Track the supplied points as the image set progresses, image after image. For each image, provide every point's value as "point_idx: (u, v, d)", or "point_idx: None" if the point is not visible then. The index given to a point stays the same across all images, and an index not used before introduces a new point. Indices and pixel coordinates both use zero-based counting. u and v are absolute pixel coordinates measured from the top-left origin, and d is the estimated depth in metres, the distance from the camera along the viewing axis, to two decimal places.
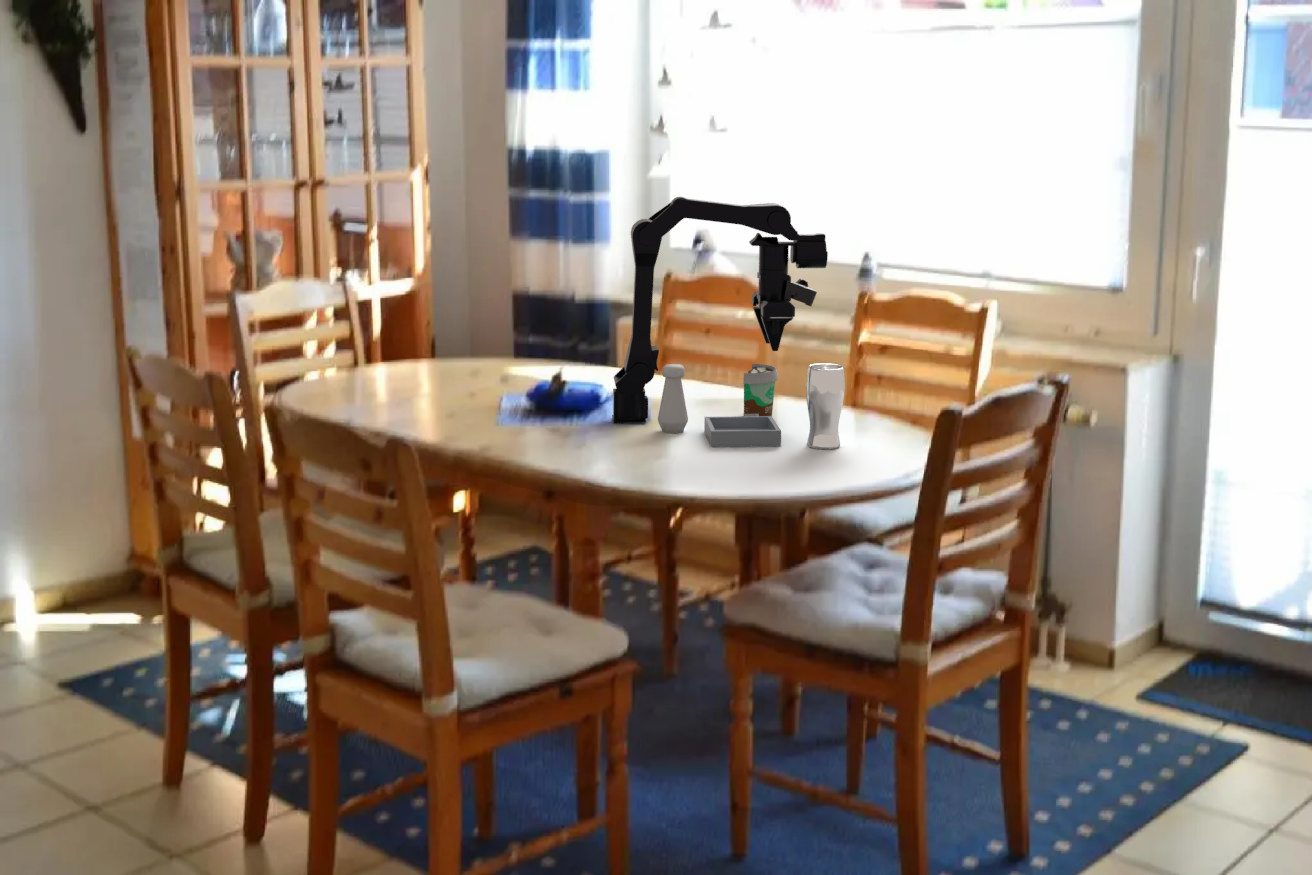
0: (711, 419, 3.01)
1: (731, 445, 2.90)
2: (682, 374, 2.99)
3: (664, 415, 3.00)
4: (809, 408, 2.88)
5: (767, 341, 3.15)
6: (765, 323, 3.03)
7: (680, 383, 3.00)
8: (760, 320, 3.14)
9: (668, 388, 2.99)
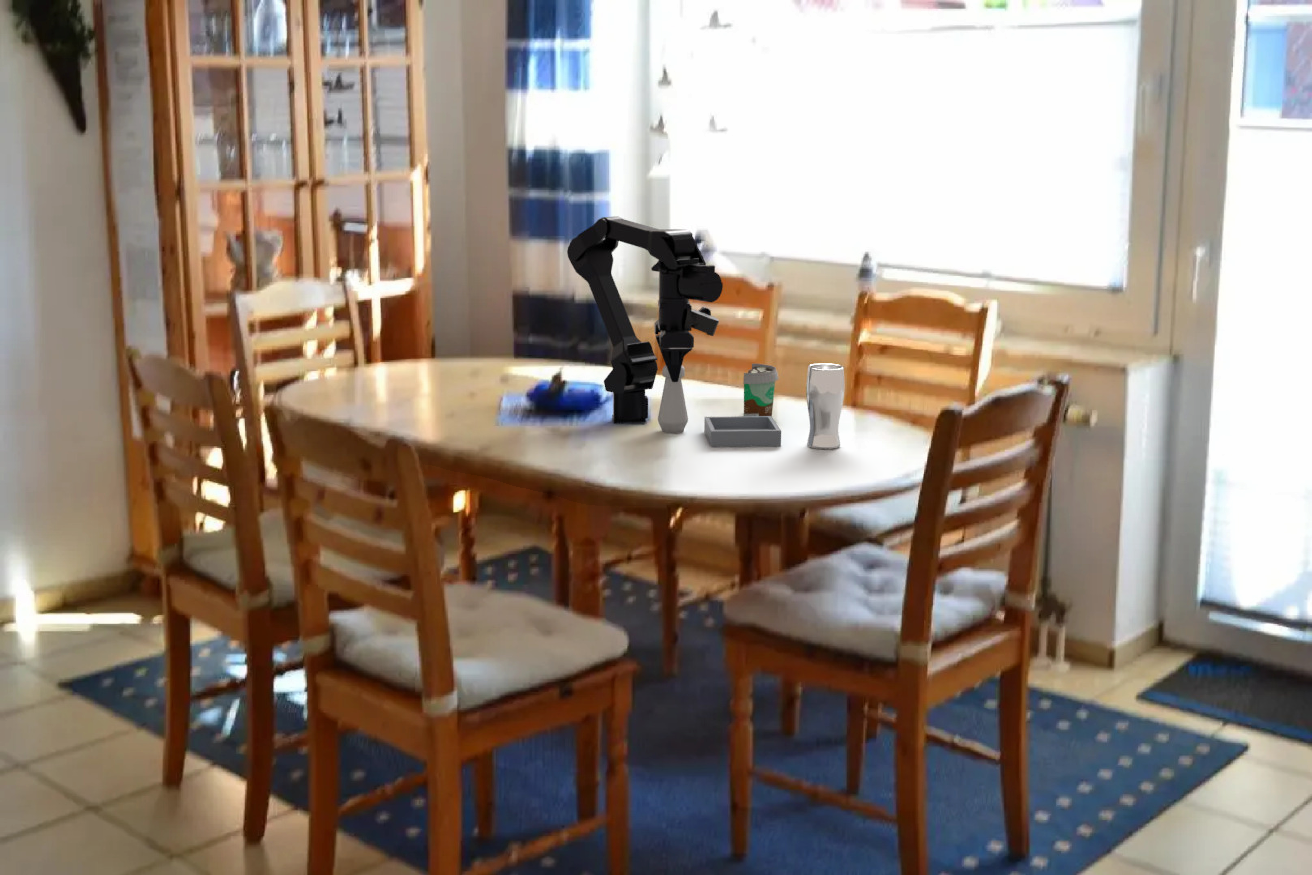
0: (711, 419, 3.01)
1: (731, 445, 2.90)
2: (682, 374, 2.99)
3: (664, 415, 3.00)
4: (809, 408, 2.88)
5: None
6: (664, 354, 2.93)
7: (680, 383, 3.00)
8: None
9: (668, 388, 2.99)
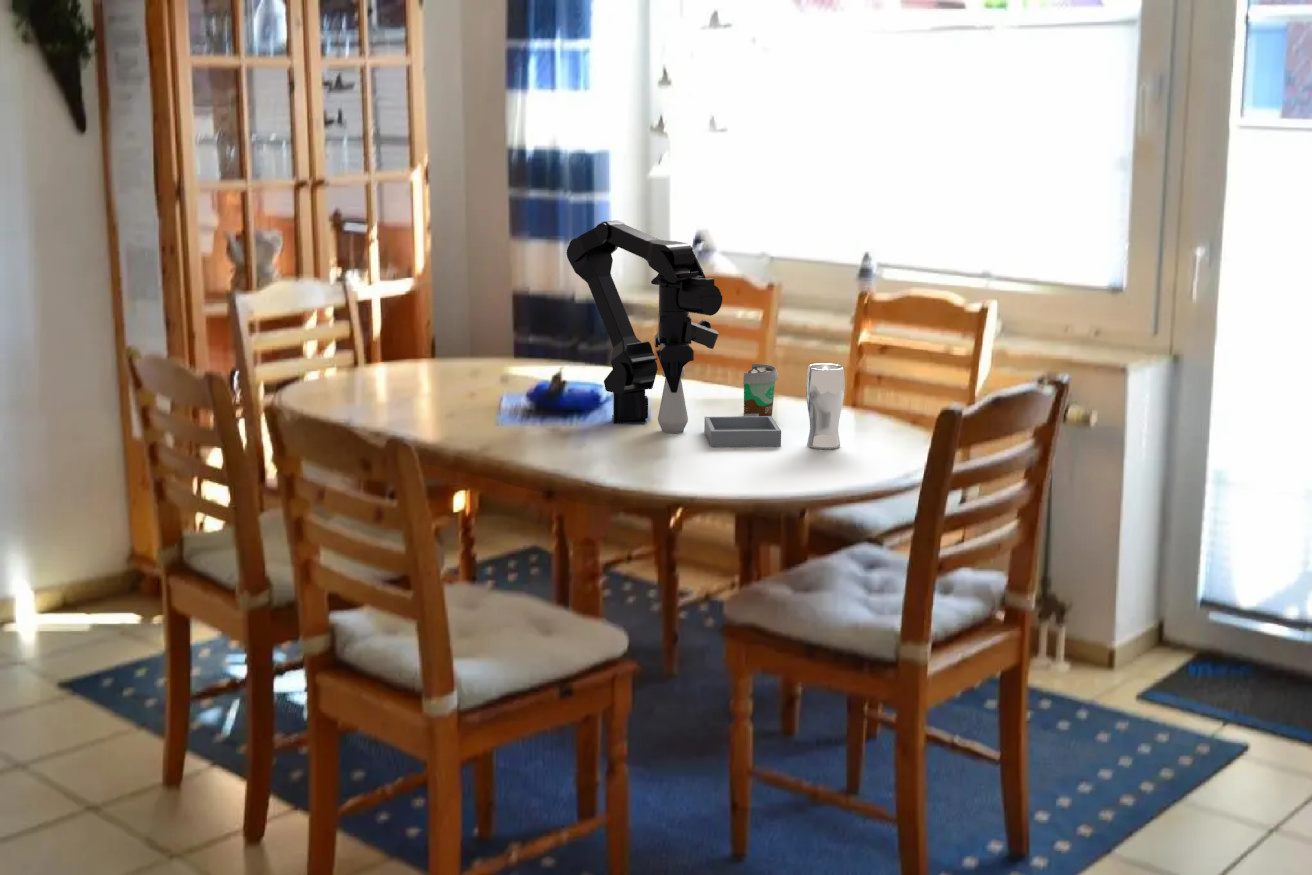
0: (711, 419, 3.01)
1: (731, 445, 2.90)
2: (682, 374, 2.99)
3: (664, 415, 3.00)
4: (809, 408, 2.88)
5: None
6: (663, 364, 2.96)
7: (680, 383, 3.00)
8: None
9: (668, 388, 2.99)
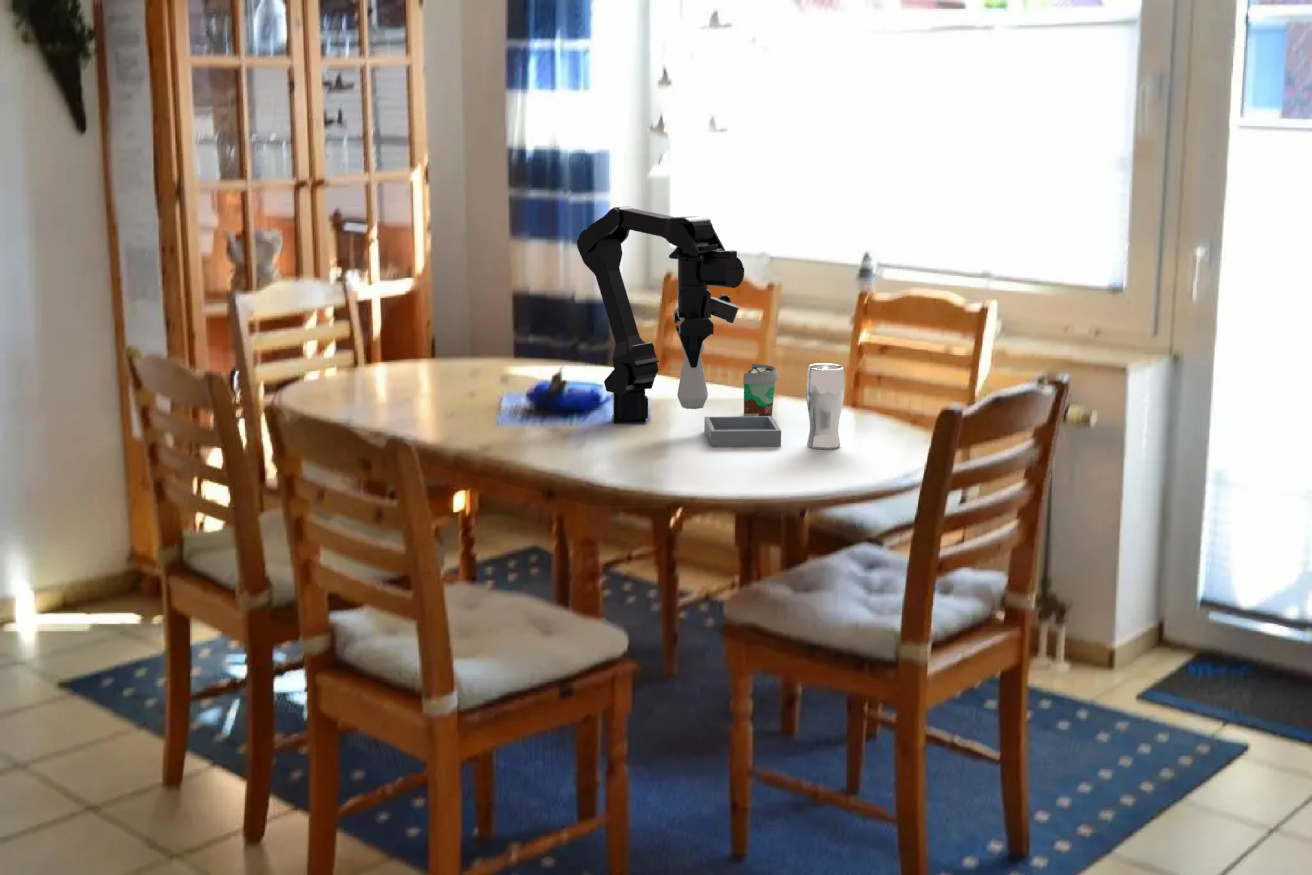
0: (711, 419, 3.01)
1: (731, 445, 2.90)
2: (702, 349, 2.96)
3: (684, 390, 2.97)
4: (809, 408, 2.88)
5: None
6: (682, 339, 2.93)
7: (700, 358, 2.97)
8: None
9: (687, 363, 2.96)
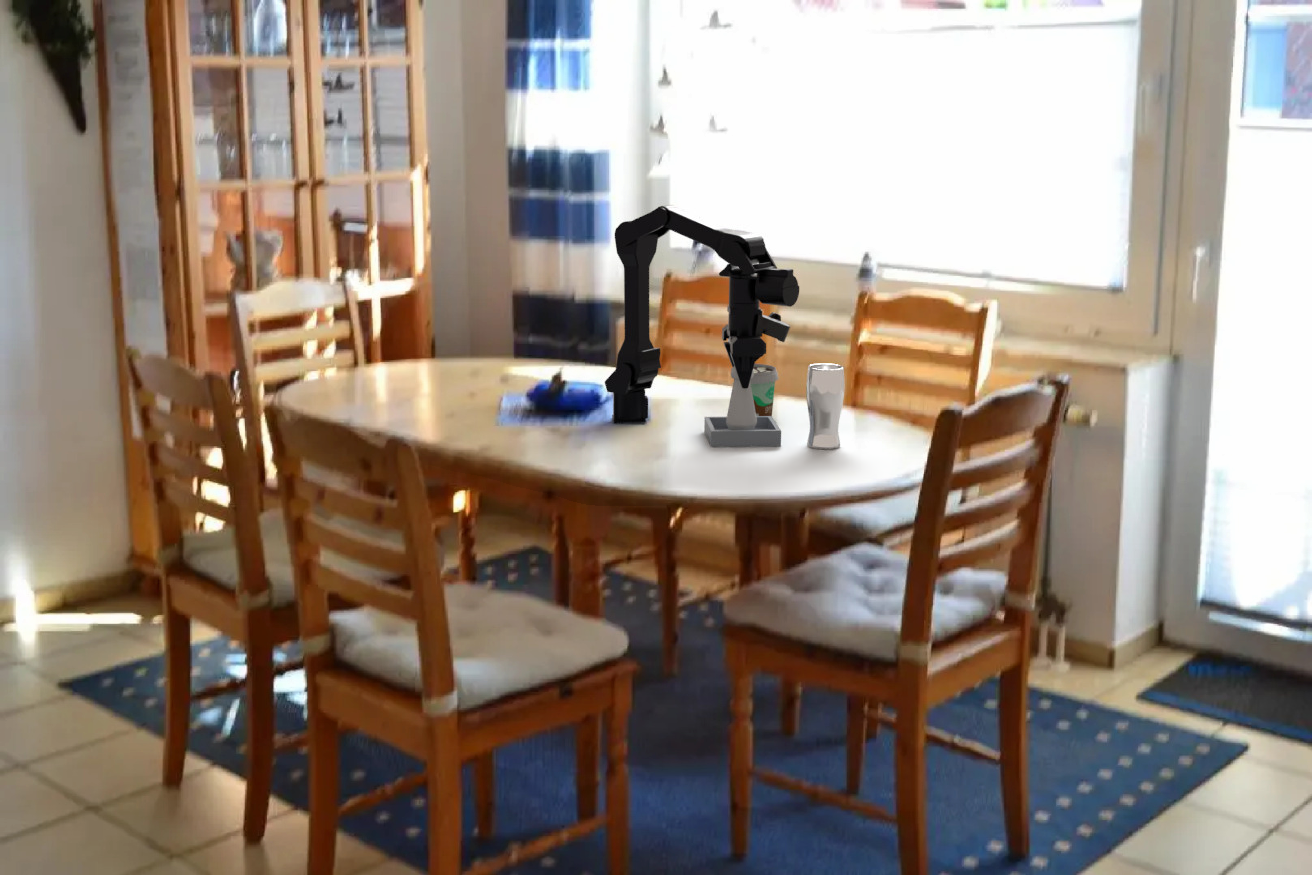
0: (711, 419, 3.01)
1: (731, 445, 2.90)
2: (751, 375, 2.92)
3: (733, 417, 2.93)
4: (809, 408, 2.88)
5: None
6: (734, 359, 2.87)
7: (749, 384, 2.93)
8: (731, 356, 2.97)
9: (737, 390, 2.93)
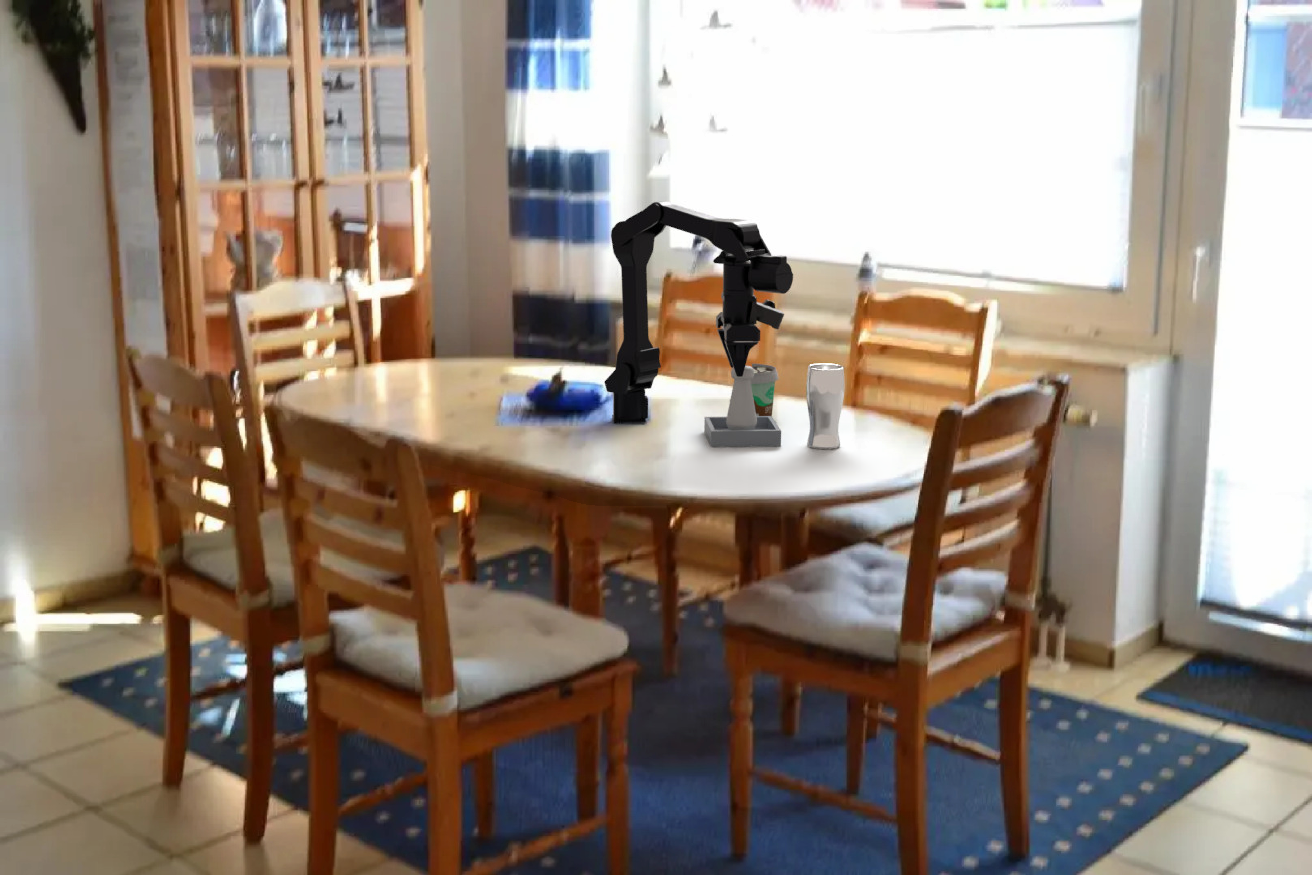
0: (711, 419, 3.01)
1: (731, 445, 2.90)
2: (752, 375, 2.92)
3: (734, 418, 2.93)
4: (809, 408, 2.88)
5: (732, 365, 2.98)
6: (729, 347, 2.86)
7: (750, 384, 2.93)
8: (725, 343, 2.97)
9: (737, 390, 2.93)
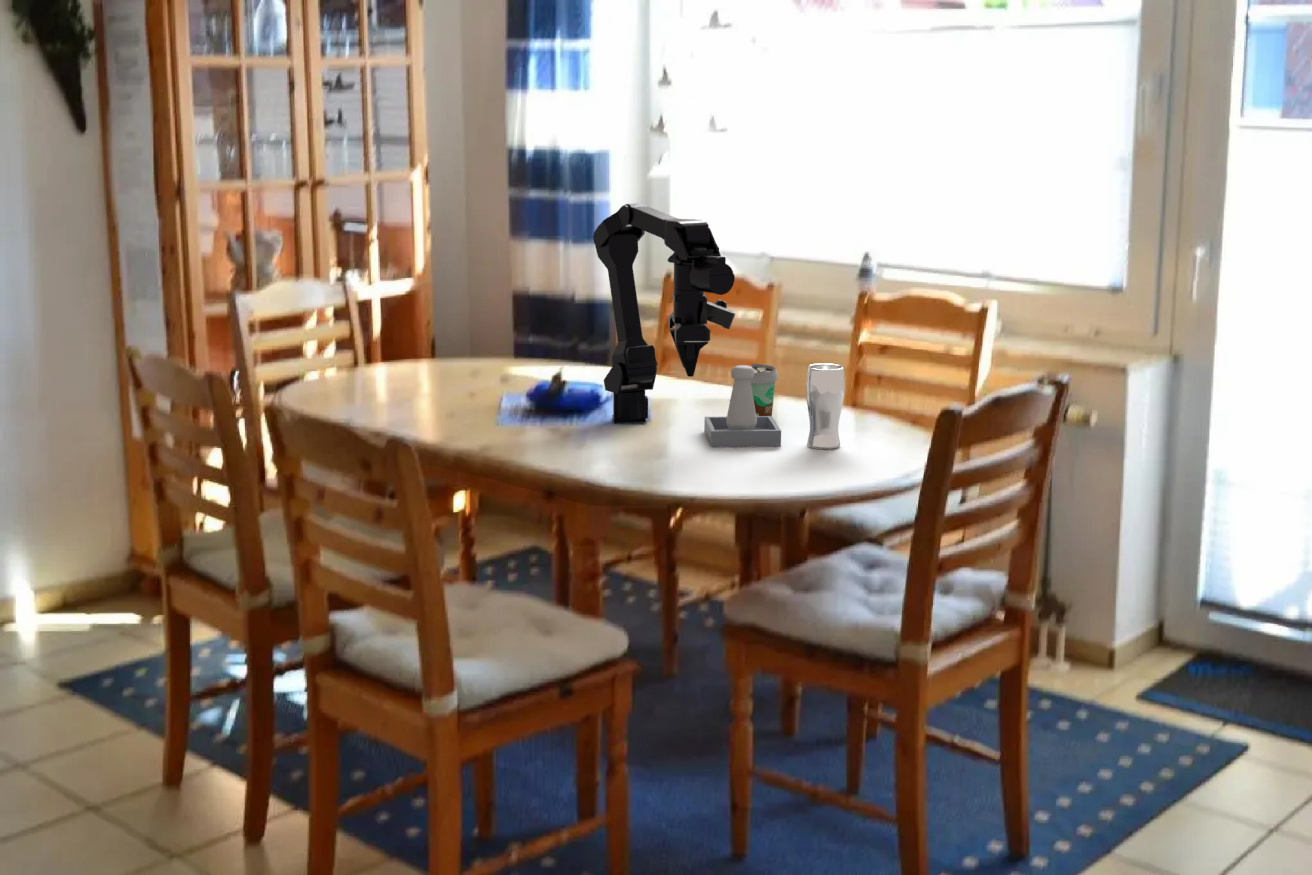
0: (711, 419, 3.01)
1: (731, 445, 2.90)
2: (752, 375, 2.92)
3: (734, 418, 2.93)
4: (809, 408, 2.88)
5: None
6: (679, 347, 2.85)
7: (750, 384, 2.93)
8: None
9: (737, 390, 2.93)
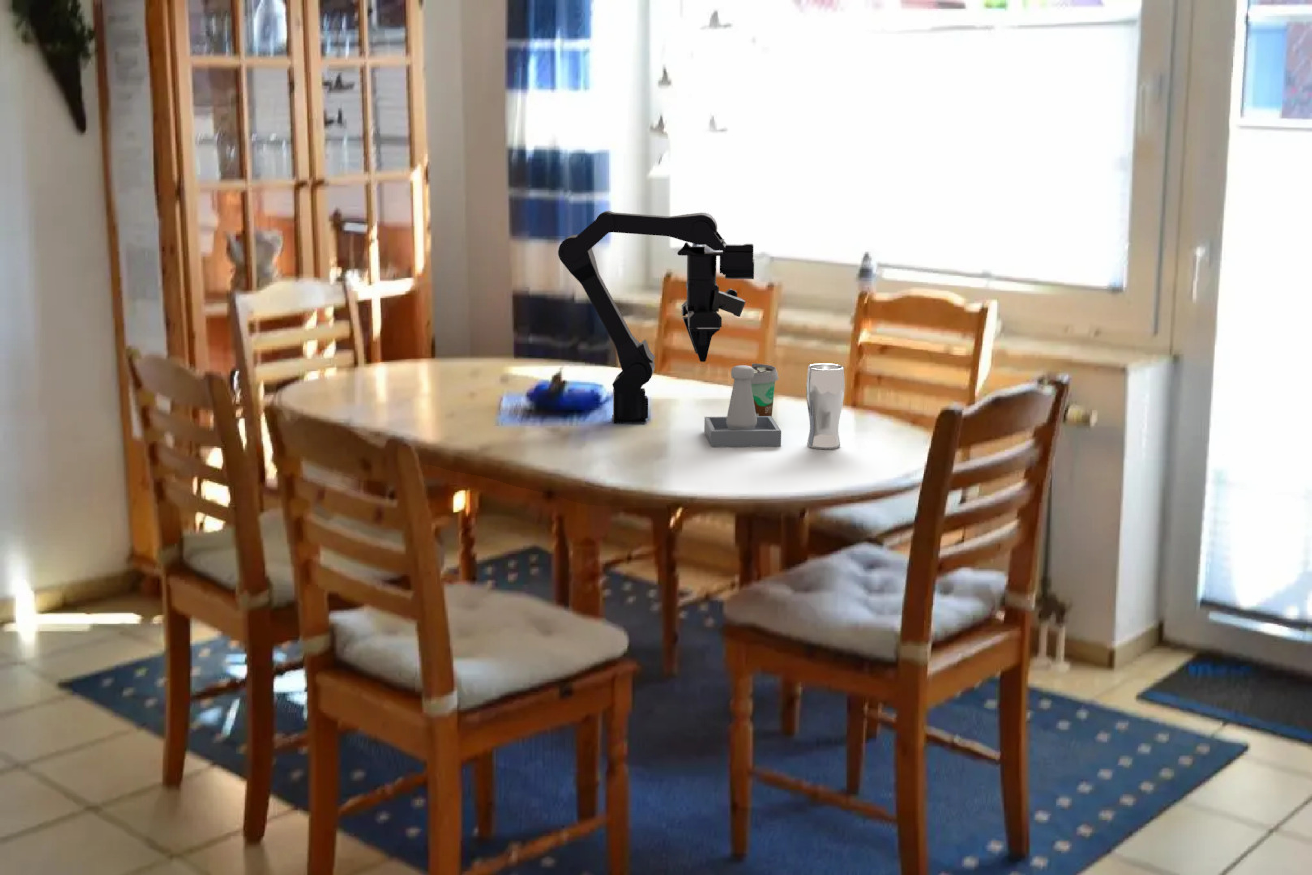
0: (711, 419, 3.01)
1: (731, 445, 2.90)
2: (752, 375, 2.92)
3: (734, 418, 2.93)
4: (809, 408, 2.88)
5: (697, 351, 3.12)
6: (692, 334, 3.00)
7: (750, 384, 2.93)
8: (690, 330, 3.12)
9: (737, 390, 2.93)
